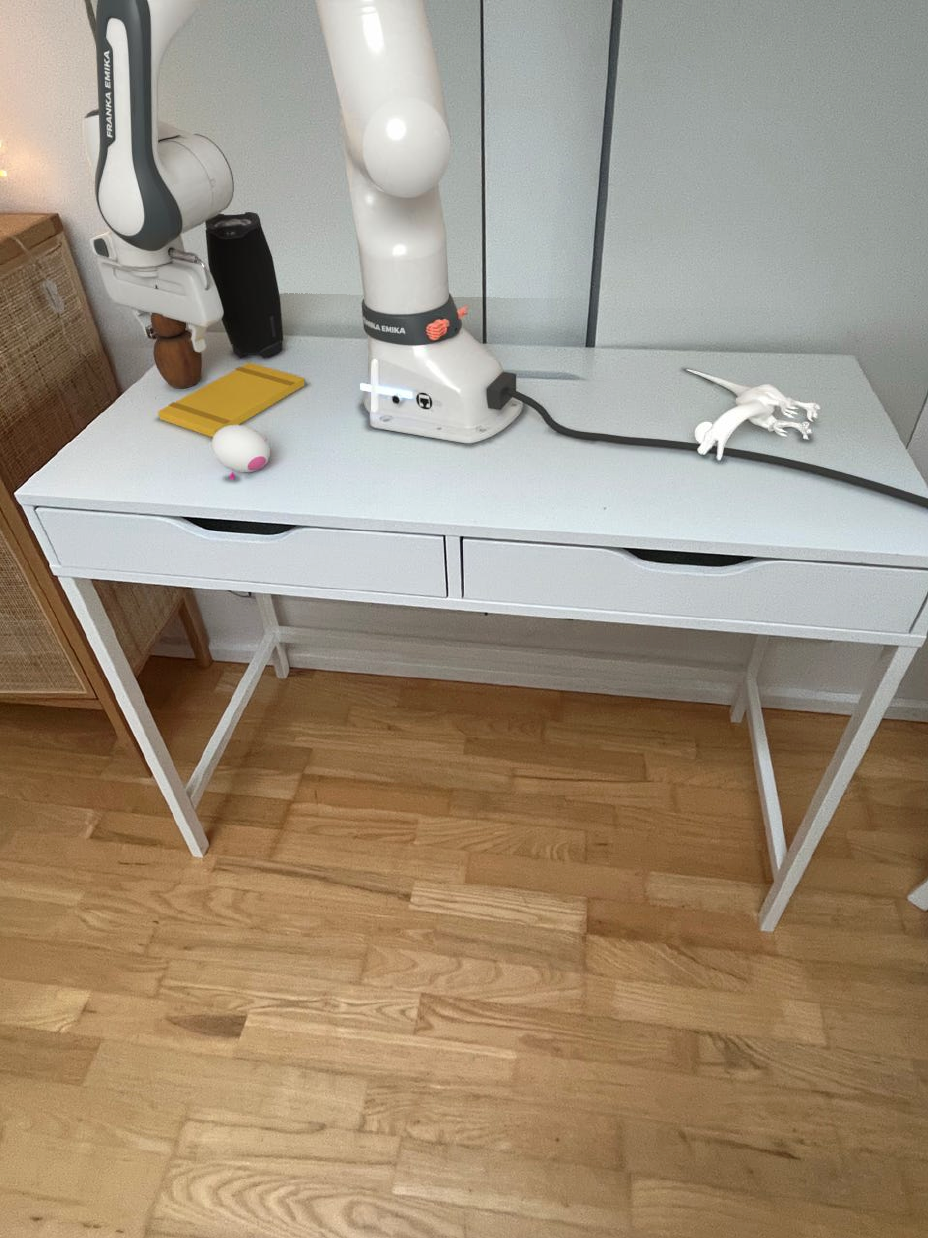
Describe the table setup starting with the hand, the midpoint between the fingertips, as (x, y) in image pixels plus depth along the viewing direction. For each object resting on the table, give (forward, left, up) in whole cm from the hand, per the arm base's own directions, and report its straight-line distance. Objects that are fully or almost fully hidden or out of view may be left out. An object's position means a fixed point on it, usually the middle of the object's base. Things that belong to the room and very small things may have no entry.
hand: (176, 343), depth 120 cm
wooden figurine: (0, 0, -6) cm, 6 cm away
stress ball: (-25, +13, -6) cm, 29 cm away
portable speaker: (-1, -14, -6) cm, 15 cm away
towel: (-11, +1, -6) cm, 13 cm away
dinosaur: (-72, -27, -6) cm, 78 cm away
